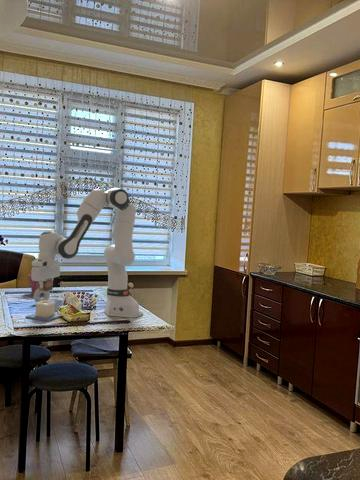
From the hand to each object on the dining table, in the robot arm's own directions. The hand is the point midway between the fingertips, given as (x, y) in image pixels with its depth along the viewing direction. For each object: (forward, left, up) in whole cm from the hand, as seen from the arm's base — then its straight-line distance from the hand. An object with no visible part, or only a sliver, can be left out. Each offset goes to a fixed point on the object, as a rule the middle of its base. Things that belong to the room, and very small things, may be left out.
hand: (45, 287), depth 238 cm
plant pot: (+41, -47, -17) cm, 65 cm away
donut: (+21, -24, -17) cm, 36 cm away
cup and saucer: (0, 0, -16) cm, 16 cm away
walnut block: (0, 0, -2) cm, 2 cm away
